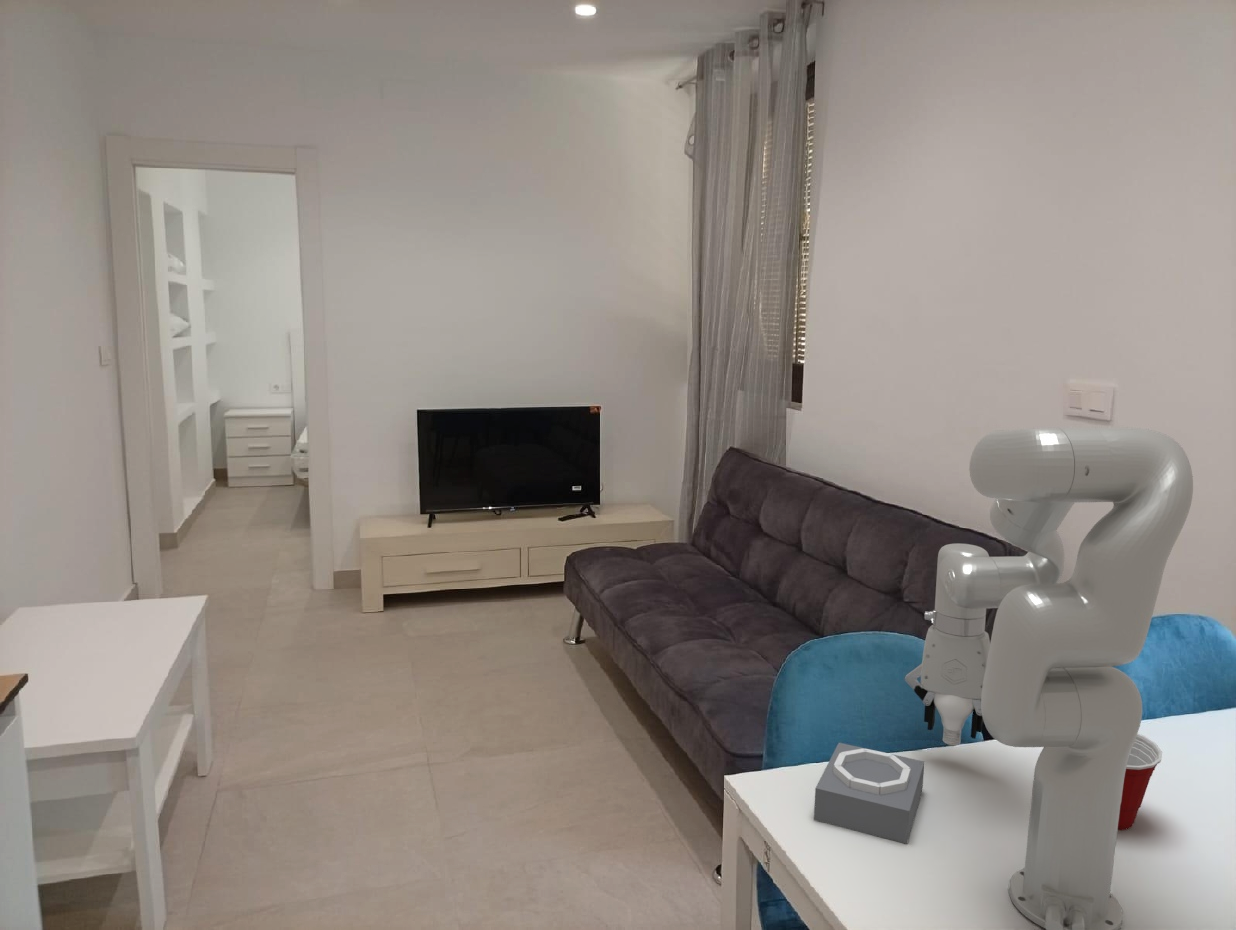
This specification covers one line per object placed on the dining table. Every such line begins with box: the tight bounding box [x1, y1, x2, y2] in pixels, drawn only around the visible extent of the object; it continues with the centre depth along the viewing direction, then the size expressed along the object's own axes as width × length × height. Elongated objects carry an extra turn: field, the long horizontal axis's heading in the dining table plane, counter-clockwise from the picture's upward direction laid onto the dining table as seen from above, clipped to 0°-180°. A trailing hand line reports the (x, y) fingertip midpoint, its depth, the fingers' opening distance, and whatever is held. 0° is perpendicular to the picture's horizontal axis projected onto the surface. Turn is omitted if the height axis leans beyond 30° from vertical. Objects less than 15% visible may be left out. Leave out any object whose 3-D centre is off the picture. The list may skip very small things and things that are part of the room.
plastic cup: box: [1117, 732, 1163, 831], centre depth 128 cm, size 11×11×12 cm
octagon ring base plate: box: [813, 742, 925, 845], centre depth 133 cm, size 18×13×6 cm
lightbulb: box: [933, 693, 974, 747], centre depth 142 cm, size 6×6×11 cm
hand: (952, 729), depth 143 cm, fingers closed on lightbulb, 5 cm apart
